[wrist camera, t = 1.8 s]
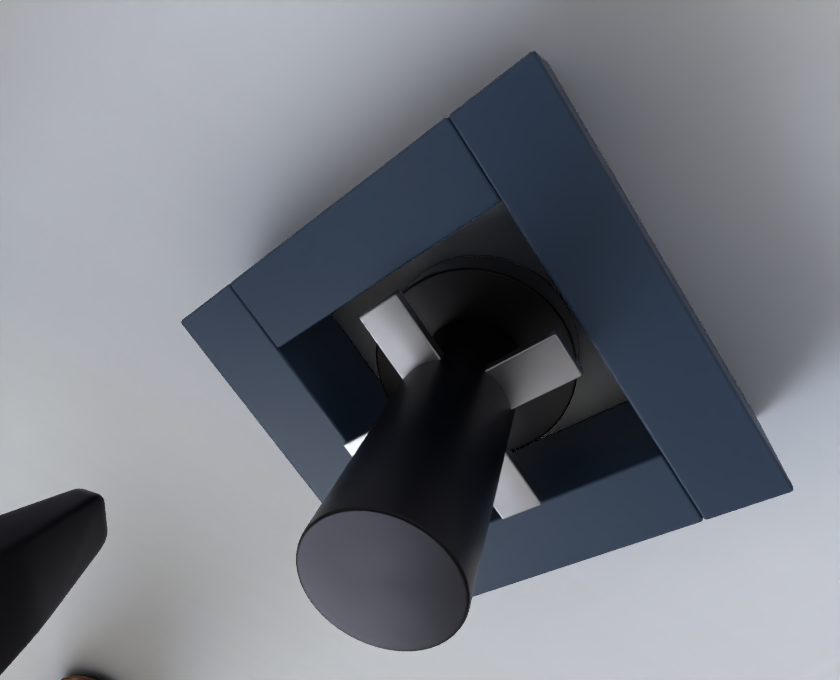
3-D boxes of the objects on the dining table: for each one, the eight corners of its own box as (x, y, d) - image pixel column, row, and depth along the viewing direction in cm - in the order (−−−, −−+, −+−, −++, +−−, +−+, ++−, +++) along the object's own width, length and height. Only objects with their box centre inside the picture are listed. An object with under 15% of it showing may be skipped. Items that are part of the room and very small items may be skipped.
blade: (453, 465, 20) (349, 753, 11) (343, 312, 19) (130, 499, 10) (629, 386, 18) (673, 684, 9) (513, 201, 16) (425, 326, 7)
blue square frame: (436, 543, 22) (410, 618, 19) (243, 286, 20) (179, 321, 17) (757, 418, 17) (796, 492, 14) (545, 58, 15) (534, 48, 12)
